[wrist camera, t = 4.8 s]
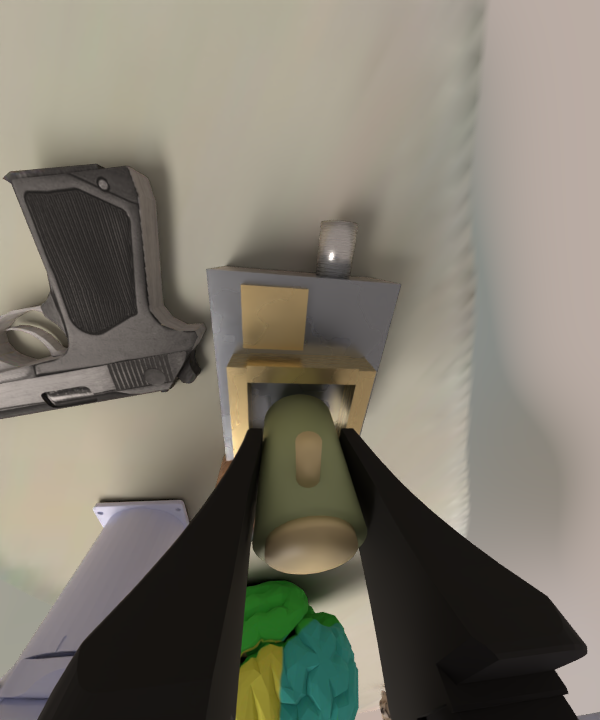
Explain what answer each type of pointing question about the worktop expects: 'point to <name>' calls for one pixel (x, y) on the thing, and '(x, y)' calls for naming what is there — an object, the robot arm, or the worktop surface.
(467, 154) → the worktop surface
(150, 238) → the handgun
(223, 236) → the worktop surface
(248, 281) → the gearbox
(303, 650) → the brain model
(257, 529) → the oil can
